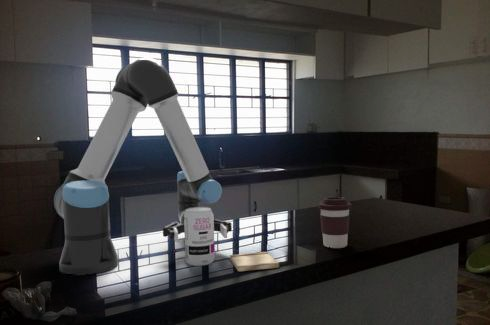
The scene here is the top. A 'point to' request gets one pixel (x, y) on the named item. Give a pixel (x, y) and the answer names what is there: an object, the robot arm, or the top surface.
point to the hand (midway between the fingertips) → (201, 235)
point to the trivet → (253, 261)
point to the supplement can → (199, 236)
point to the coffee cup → (335, 221)
